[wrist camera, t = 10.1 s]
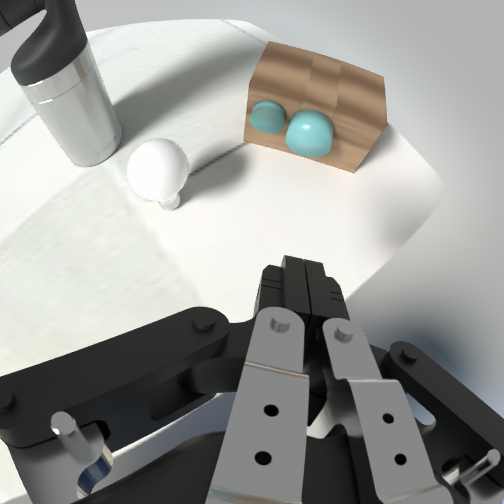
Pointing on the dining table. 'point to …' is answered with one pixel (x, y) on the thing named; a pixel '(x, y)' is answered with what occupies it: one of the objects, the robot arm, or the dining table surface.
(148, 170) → the lightbulb
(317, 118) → the knob
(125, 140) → the dining table surface
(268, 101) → the mount
